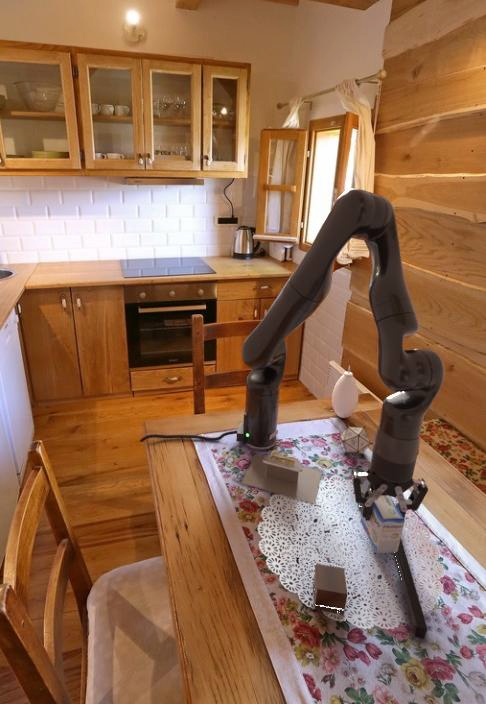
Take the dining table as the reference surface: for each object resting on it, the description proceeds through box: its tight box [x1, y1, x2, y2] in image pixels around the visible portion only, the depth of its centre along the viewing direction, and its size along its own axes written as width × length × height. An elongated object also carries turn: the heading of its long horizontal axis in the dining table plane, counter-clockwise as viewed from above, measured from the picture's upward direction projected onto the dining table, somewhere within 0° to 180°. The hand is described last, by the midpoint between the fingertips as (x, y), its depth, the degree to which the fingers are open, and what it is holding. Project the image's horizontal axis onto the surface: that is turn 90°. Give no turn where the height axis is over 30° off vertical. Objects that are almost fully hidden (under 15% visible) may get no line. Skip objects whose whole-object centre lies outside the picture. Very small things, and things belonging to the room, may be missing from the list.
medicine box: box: [359, 495, 406, 554], centre depth 81 cm, size 8×4×9 cm, turn 5°
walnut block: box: [312, 563, 348, 616], centre depth 72 cm, size 5×5×5 cm
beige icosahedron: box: [337, 423, 374, 457], centre depth 111 cm, size 9×8×10 cm
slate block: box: [357, 480, 369, 511], centre depth 94 cm, size 5×5×5 cm
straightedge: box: [392, 537, 428, 639], centre depth 82 cm, size 2×32×2 cm, turn 170°
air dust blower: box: [331, 365, 359, 419], centre depth 126 cm, size 8×8×18 cm
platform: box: [241, 450, 323, 505], centre depth 101 cm, size 12×18×7 cm, turn 69°
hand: (381, 519), depth 81 cm, fingers closed on medicine box, 5 cm apart
